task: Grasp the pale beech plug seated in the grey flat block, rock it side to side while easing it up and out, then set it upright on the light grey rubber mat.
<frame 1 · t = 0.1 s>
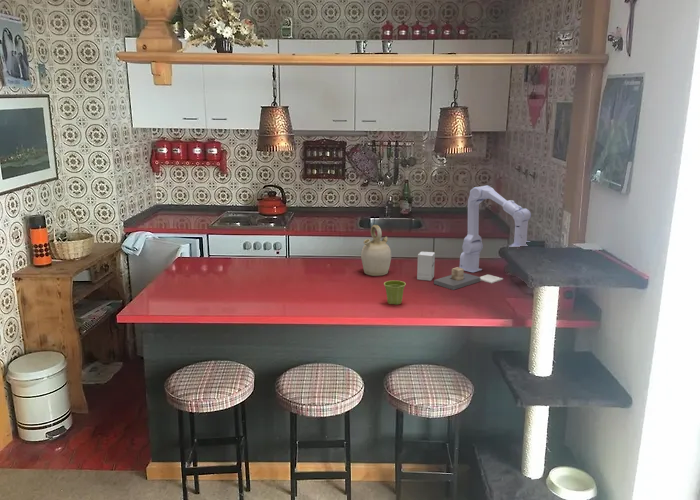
hand: (518, 262, 280), 10 cm above the counter, fingers open, 7 cm apart
grey flat block: (457, 282, 283), on the counter
jug: (376, 273, 300), on the counter
plant pot: (394, 302, 257), on the counter
plug: (457, 275, 282), in the grey flat block
supplement box: (425, 278, 290), on the counter
mat: (489, 279, 288), on the counter
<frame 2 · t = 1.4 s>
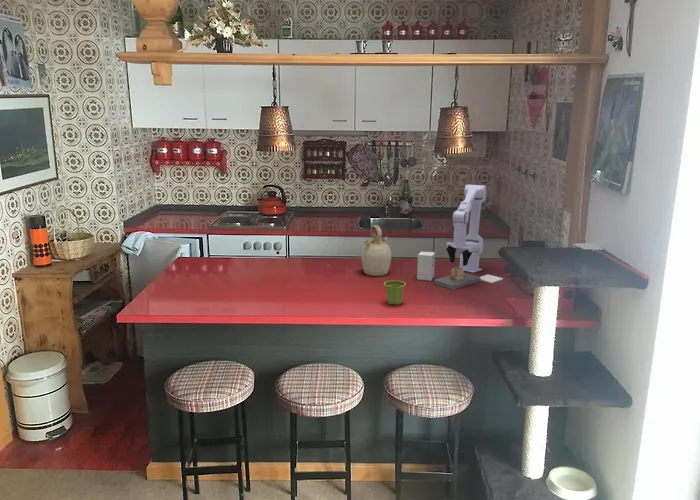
hand: (458, 263, 281), 9 cm above the counter, fingers open, 7 cm apart
nothing on the counter moved.
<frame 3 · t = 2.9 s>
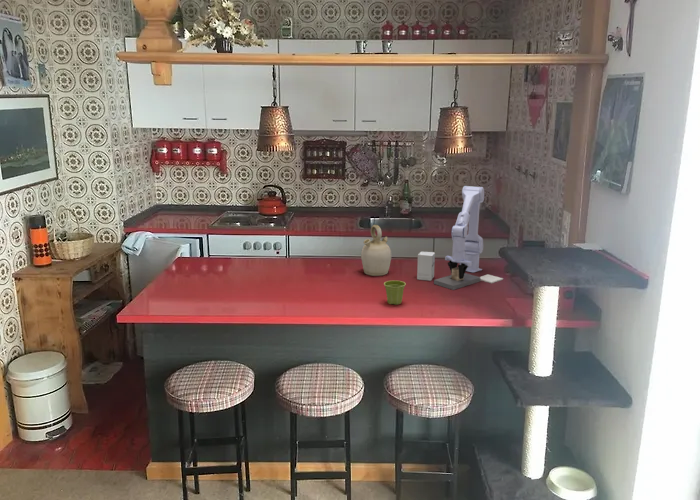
hand: (457, 277, 282), 3 cm above the counter, fingers closed on plug, 4 cm apart
plug: (457, 275, 282), in the grey flat block, touching gripper
everything else where it was.
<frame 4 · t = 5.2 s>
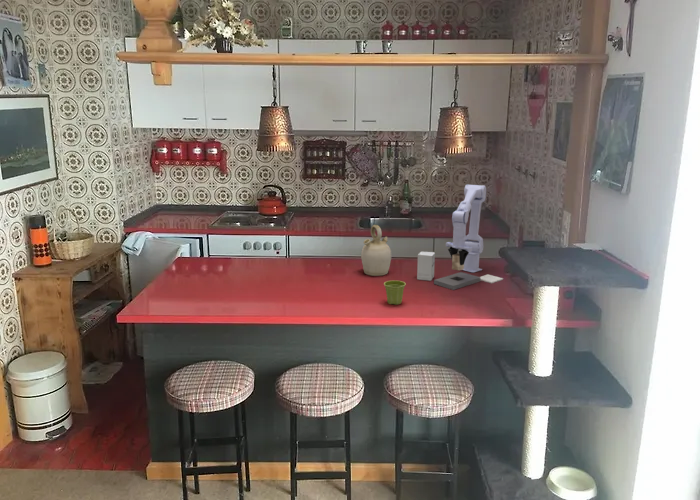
hand: (458, 263, 281), 9 cm above the counter, fingers closed on plug, 4 cm apart
plug: (458, 261, 280), point 10 cm above the counter, touching gripper
everything else where it was.
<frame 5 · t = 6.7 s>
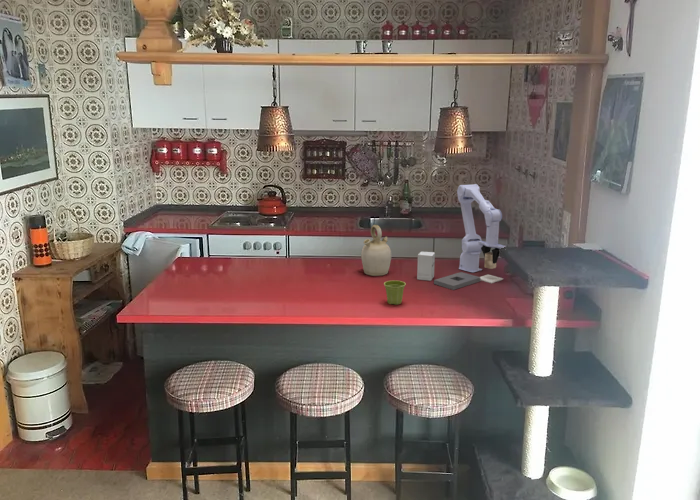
hand: (490, 262, 286), 9 cm above the counter, fingers closed on plug, 4 cm apart
plug: (490, 260, 285), point 10 cm above the counter, touching gripper
everything else where it was.
when the fingers open (4 cm above the counter, at t = 7.8 s): plug stays where it is, resting on mat.
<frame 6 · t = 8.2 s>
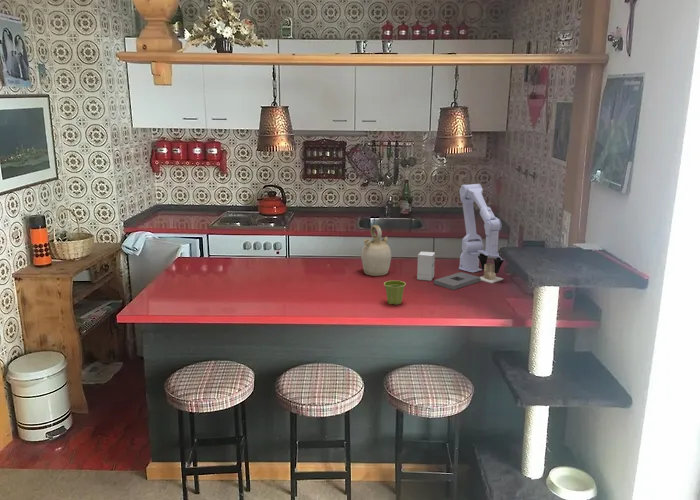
hand: (490, 271, 287), 4 cm above the counter, fingers open, 7 cm apart
plug: (489, 271, 287), on the mat, point 4 cm above the counter
everything else where it was.
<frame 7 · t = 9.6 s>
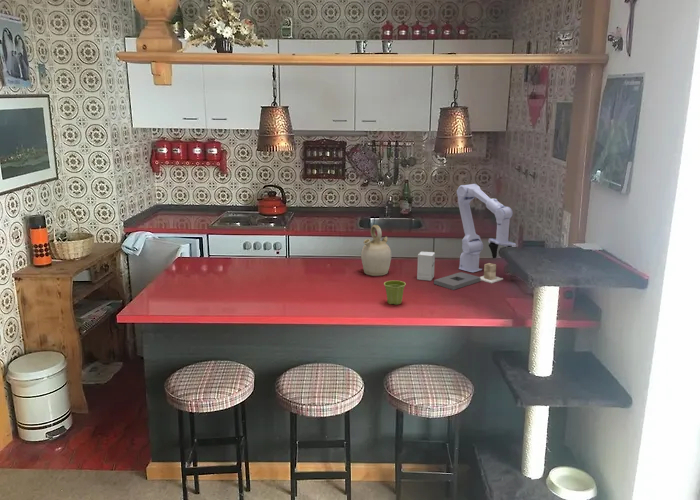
hand: (500, 259, 286), 10 cm above the counter, fingers open, 7 cm apart
nothing on the counter moved.
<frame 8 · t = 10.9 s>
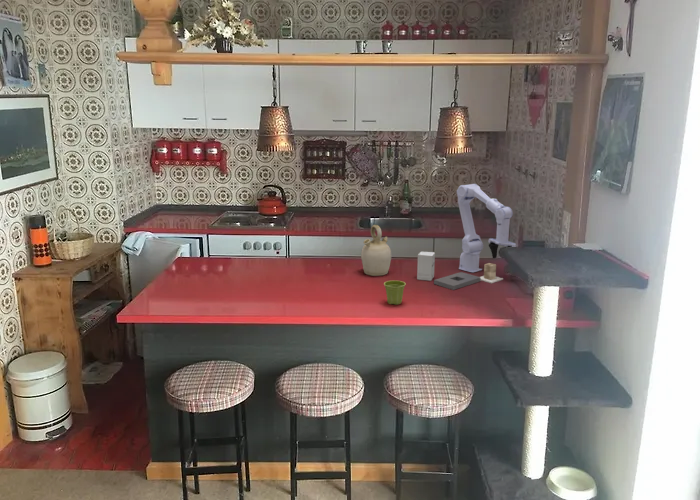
hand: (501, 259, 286), 10 cm above the counter, fingers open, 7 cm apart
nothing on the counter moved.
at the end: plug 0.2 cm off-centre on the mat, point 4.1 cm above the mat's base; plug tilted 0°; the gripper is holding nothing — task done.
